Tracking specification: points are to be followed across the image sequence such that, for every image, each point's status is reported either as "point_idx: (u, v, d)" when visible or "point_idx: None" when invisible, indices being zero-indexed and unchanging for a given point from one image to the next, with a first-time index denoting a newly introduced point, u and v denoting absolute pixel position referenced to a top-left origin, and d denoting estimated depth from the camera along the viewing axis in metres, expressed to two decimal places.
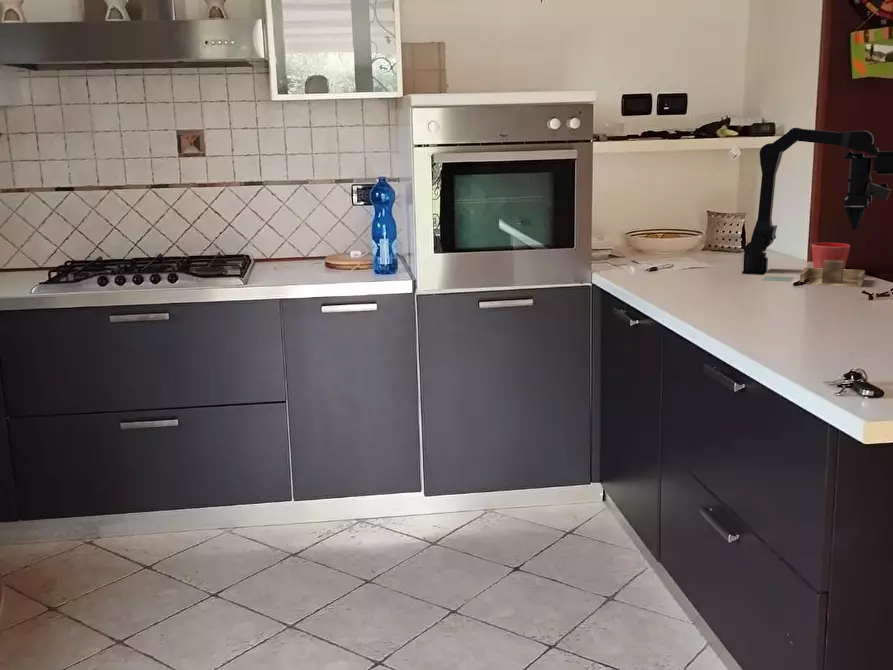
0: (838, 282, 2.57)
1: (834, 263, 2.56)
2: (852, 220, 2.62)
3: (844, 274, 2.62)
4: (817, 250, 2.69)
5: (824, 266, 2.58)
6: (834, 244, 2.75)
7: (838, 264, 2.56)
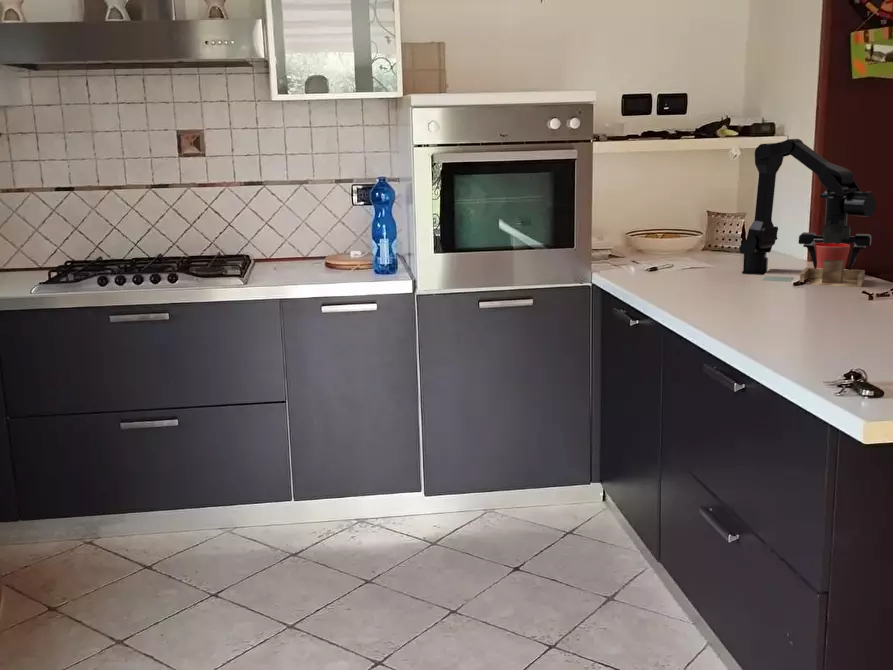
0: (838, 282, 2.57)
1: (834, 263, 2.56)
2: None
3: (844, 274, 2.62)
4: (817, 250, 2.69)
5: (824, 266, 2.58)
6: (834, 244, 2.75)
7: (838, 264, 2.56)
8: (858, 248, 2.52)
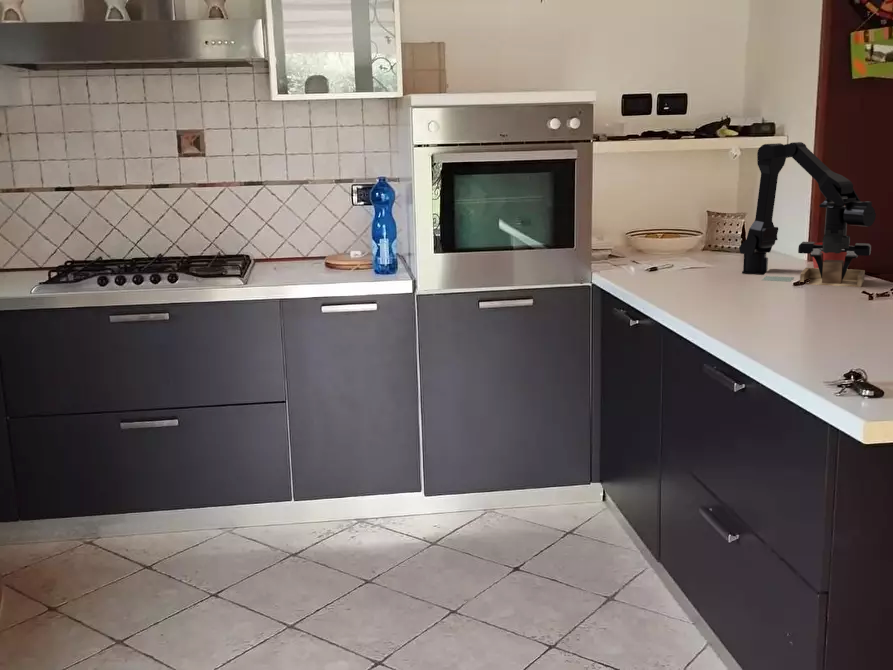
0: (838, 282, 2.57)
1: (834, 263, 2.56)
2: None
3: None
4: None
5: (824, 266, 2.58)
6: None
7: (838, 264, 2.56)
8: (850, 257, 2.54)
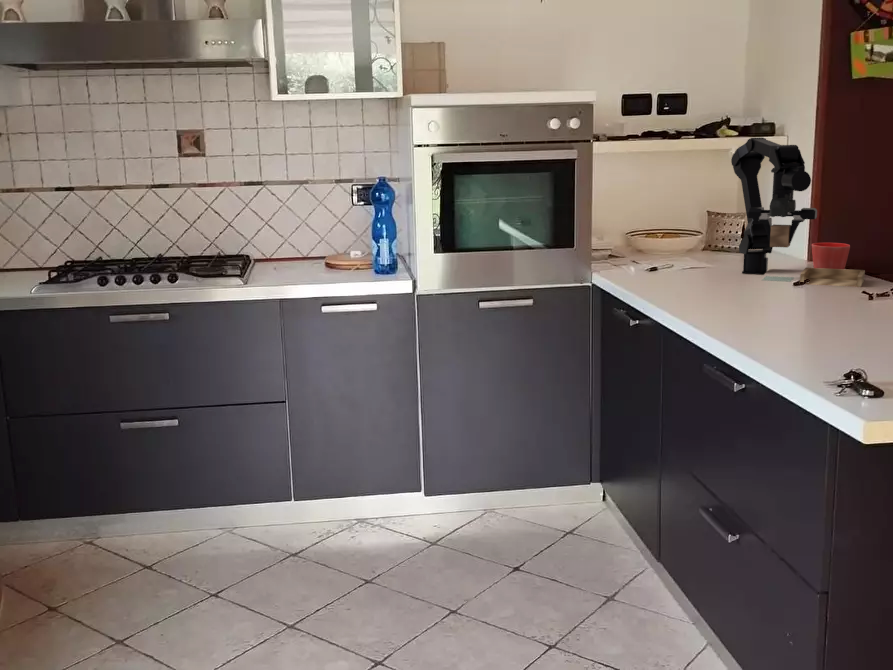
0: (785, 246, 2.62)
1: (781, 227, 2.62)
2: None
3: (844, 274, 2.62)
4: (817, 250, 2.69)
5: (772, 230, 2.63)
6: (834, 244, 2.75)
7: (785, 228, 2.61)
8: (796, 221, 2.59)
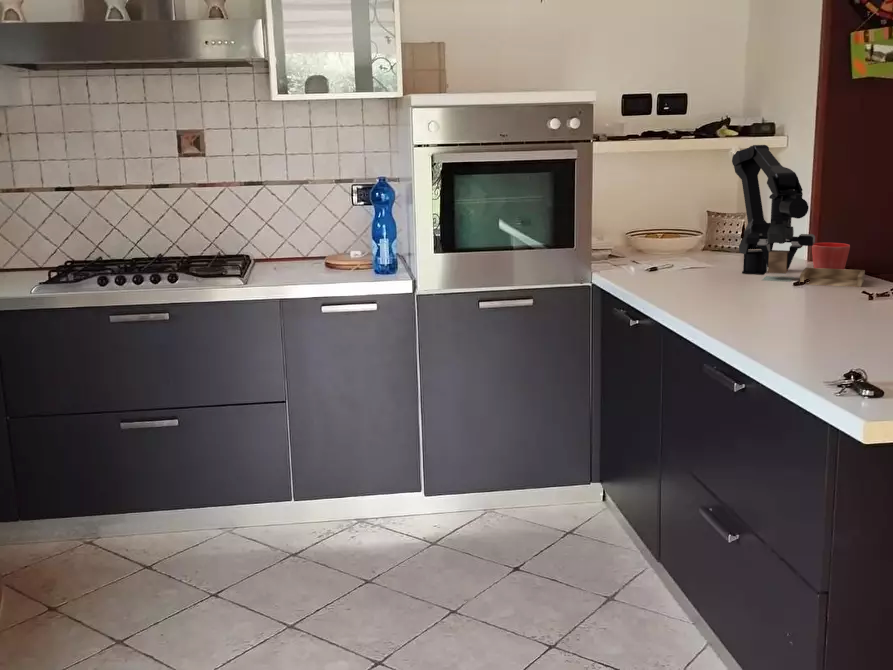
0: (783, 272, 2.64)
1: (779, 253, 2.64)
2: None
3: (844, 274, 2.62)
4: (817, 250, 2.69)
5: (770, 256, 2.65)
6: (834, 244, 2.75)
7: (783, 254, 2.63)
8: (794, 248, 2.61)
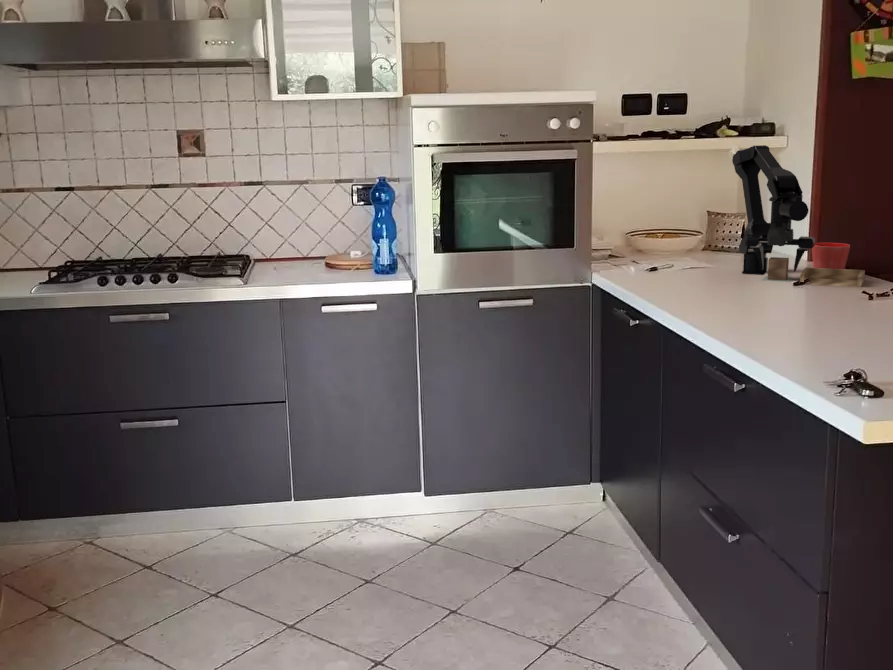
0: (783, 279, 2.65)
1: (779, 260, 2.64)
2: None
3: (844, 274, 2.62)
4: (817, 250, 2.69)
5: (769, 263, 2.65)
6: (834, 244, 2.75)
7: (783, 261, 2.64)
8: (801, 250, 2.60)
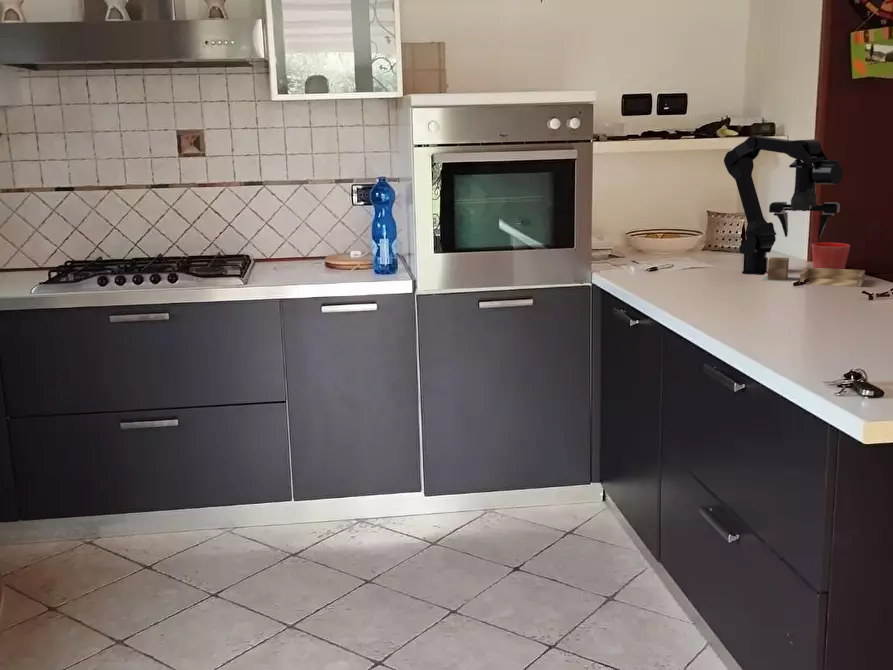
0: (783, 279, 2.65)
1: (779, 260, 2.64)
2: None
3: (844, 274, 2.62)
4: (817, 250, 2.69)
5: (769, 263, 2.65)
6: (834, 244, 2.75)
7: (783, 261, 2.64)
8: (826, 216, 2.59)
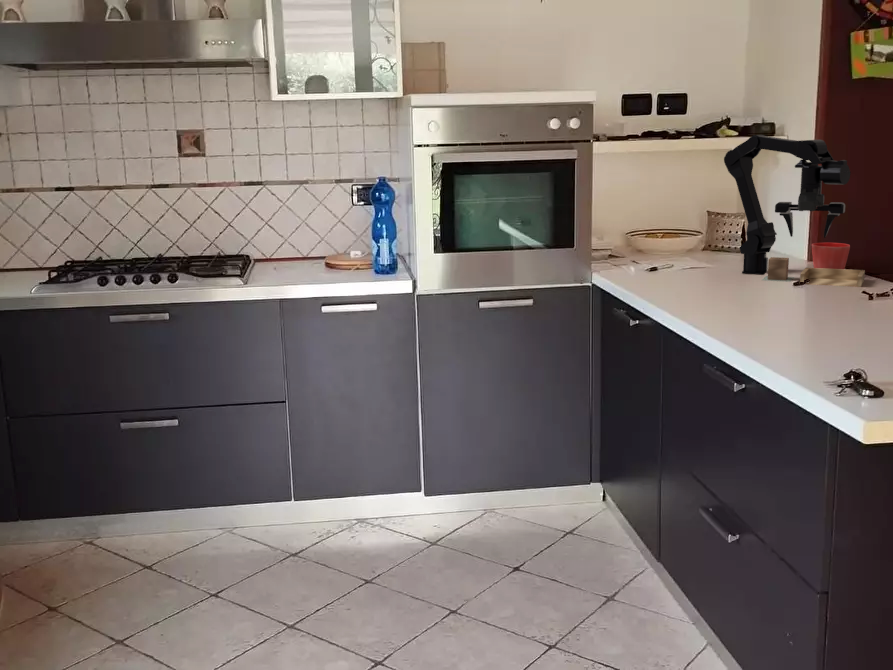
0: (783, 279, 2.65)
1: (779, 260, 2.64)
2: None
3: (844, 274, 2.62)
4: (817, 250, 2.69)
5: (769, 263, 2.65)
6: (834, 244, 2.75)
7: (783, 261, 2.64)
8: (832, 216, 2.60)
